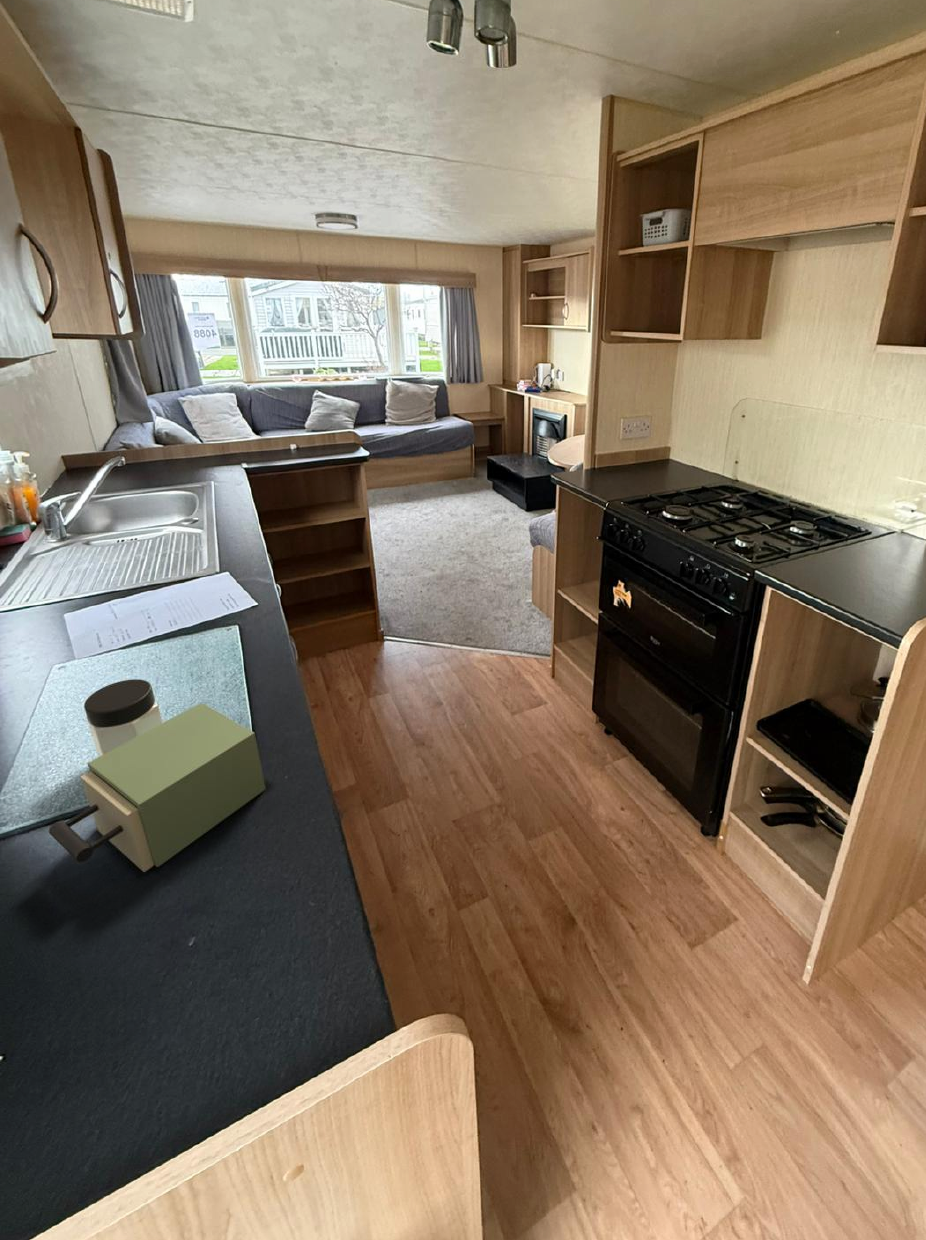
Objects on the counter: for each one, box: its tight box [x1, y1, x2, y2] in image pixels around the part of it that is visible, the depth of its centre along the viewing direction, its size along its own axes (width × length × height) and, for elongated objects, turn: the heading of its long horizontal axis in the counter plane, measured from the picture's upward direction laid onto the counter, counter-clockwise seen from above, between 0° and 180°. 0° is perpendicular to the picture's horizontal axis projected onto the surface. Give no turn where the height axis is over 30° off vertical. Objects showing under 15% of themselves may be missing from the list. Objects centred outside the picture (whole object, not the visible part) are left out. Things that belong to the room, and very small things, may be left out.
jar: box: [83, 678, 164, 757], centre depth 84 cm, size 9×8×12 cm
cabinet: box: [87, 702, 266, 868], centre depth 76 cm, size 15×13×11 cm
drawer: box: [48, 770, 155, 873], centre depth 73 cm, size 18×11×9 cm, turn 148°
